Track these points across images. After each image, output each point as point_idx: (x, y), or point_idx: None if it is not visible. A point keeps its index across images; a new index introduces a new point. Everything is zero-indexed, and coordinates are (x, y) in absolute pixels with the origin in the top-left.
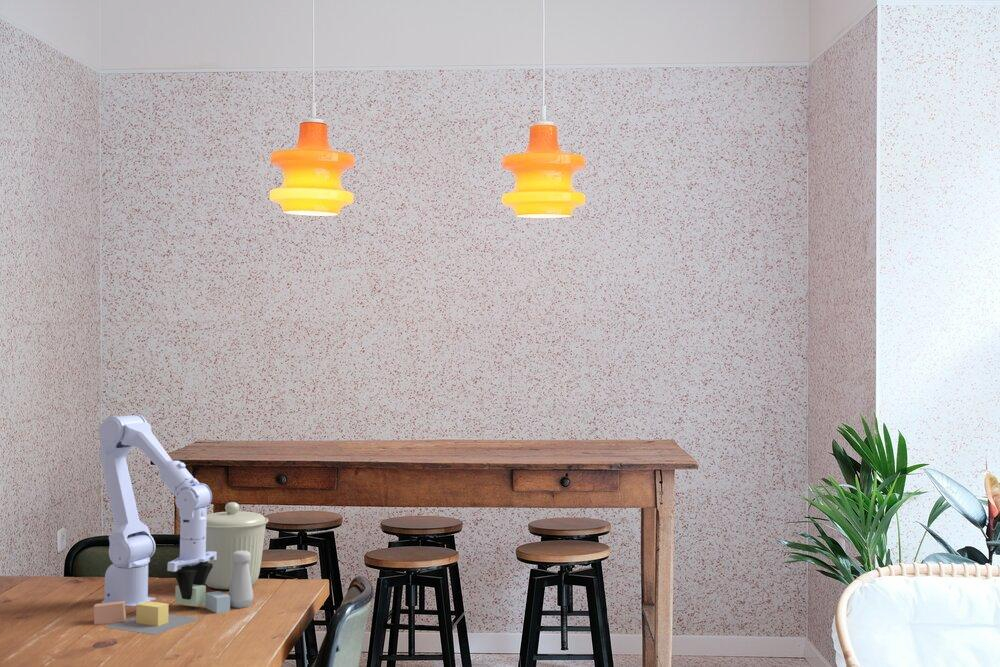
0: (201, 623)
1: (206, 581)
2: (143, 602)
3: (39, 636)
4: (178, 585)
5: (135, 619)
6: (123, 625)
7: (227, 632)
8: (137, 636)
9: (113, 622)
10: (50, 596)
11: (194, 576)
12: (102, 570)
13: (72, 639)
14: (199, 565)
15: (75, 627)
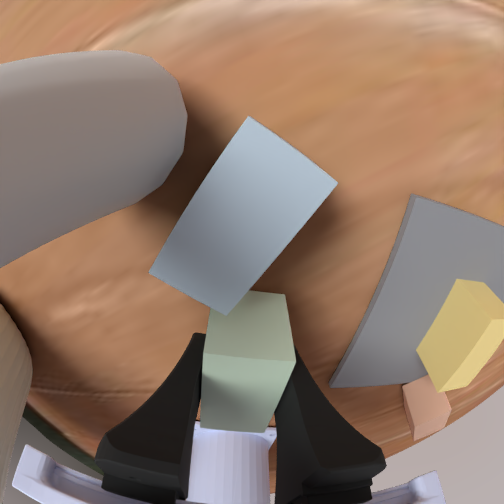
0: (440, 168)
1: (31, 375)
2: (452, 387)
3: (465, 402)
4: (251, 430)
5: (413, 368)
6: None
7: (498, 41)
8: None
9: None
10: None
11: (311, 435)
12: (98, 470)
13: (496, 362)
14: (184, 489)
15: None
